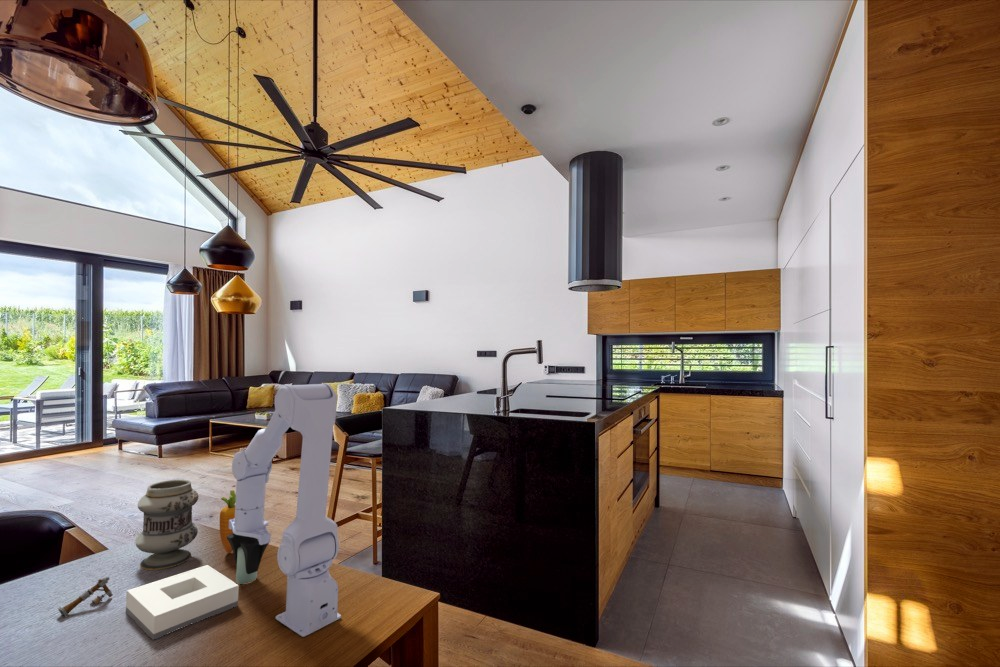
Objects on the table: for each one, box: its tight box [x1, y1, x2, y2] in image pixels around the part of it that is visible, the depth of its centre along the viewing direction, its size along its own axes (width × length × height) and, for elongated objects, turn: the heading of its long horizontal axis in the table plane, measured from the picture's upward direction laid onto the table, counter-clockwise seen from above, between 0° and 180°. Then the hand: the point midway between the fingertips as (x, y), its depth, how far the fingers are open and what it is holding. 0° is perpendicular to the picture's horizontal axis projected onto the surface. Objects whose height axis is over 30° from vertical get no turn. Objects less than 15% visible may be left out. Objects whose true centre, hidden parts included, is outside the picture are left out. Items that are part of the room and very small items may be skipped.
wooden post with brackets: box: [57, 576, 113, 618], centre depth 90 cm, size 2×8×4 cm, turn 155°
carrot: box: [219, 489, 236, 554], centre depth 115 cm, size 5×5×15 cm
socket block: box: [125, 564, 240, 641], centre depth 90 cm, size 14×14×4 cm
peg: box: [235, 547, 258, 584], centre depth 102 cm, size 4×4×7 cm
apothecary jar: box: [135, 479, 199, 571], centre depth 111 cm, size 12×12×18 cm
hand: (247, 569), depth 102 cm, fingers closed on peg, 4 cm apart
